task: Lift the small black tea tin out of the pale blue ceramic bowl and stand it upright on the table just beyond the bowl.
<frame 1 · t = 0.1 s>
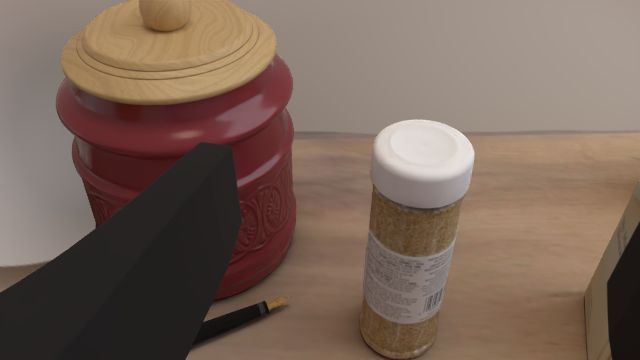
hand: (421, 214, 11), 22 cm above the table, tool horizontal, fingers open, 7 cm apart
sprinkles bottle: (396, 332, 35), on the table
cosmetic box: (624, 345, 35), on the table
fountain pen: (178, 350, 34), on the table
kitchen canister: (202, 236, 41), on the table
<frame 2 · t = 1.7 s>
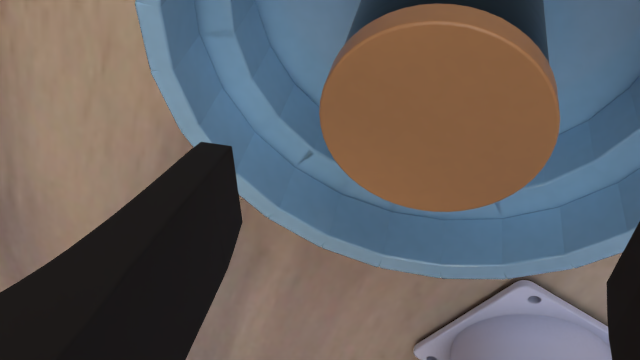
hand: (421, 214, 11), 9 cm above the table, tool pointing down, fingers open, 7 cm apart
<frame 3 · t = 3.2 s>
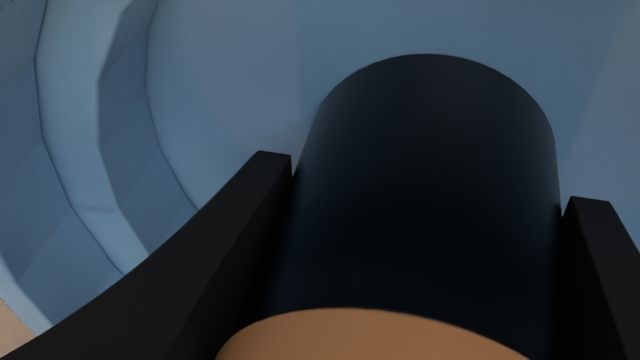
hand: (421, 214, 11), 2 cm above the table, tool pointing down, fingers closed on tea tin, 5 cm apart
blue bowl: (430, 144, 12), on the table
tea tin: (427, 157, 12), resting on blue bowl, touching gripper
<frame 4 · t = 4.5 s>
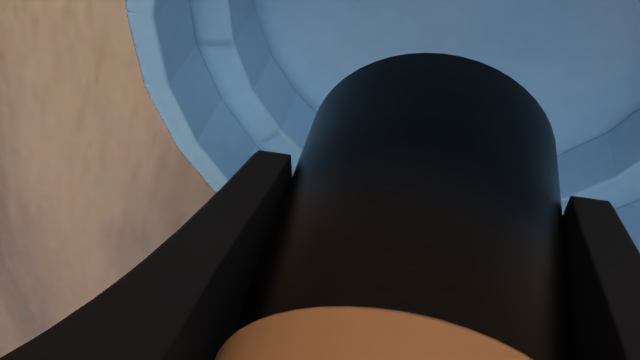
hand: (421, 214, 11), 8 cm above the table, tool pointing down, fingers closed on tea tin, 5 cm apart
tea tin: (427, 156, 12), point 7 cm above the table, touching gripper
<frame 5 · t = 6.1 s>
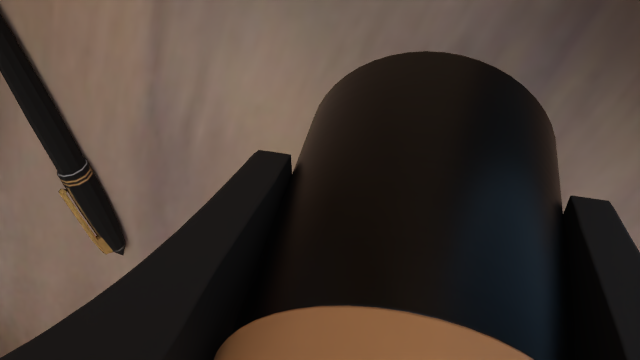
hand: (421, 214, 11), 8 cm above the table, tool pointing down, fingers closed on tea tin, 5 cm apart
fountain pen: (62, 115, 23), on the table
tea tin: (427, 155, 12), point 6 cm above the table, touching gripper
when the fingers open (2 cm above the table, at t = 8.0 s): tea tin stays where it is, on the table.
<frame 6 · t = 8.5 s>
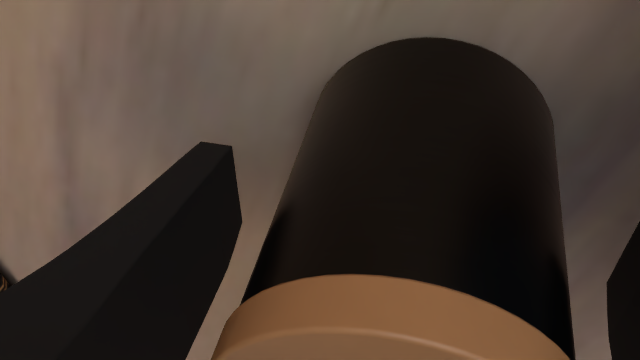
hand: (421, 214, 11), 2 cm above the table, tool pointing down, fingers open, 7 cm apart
tea tin: (428, 141, 12), on the table
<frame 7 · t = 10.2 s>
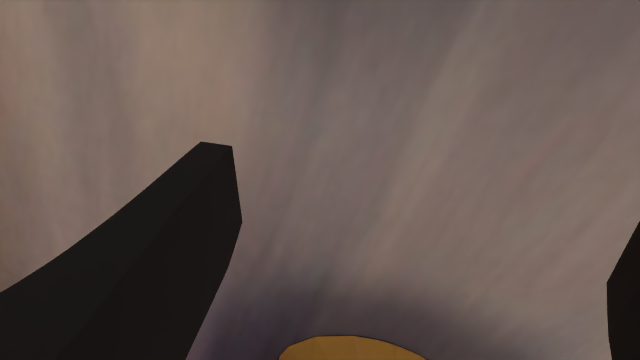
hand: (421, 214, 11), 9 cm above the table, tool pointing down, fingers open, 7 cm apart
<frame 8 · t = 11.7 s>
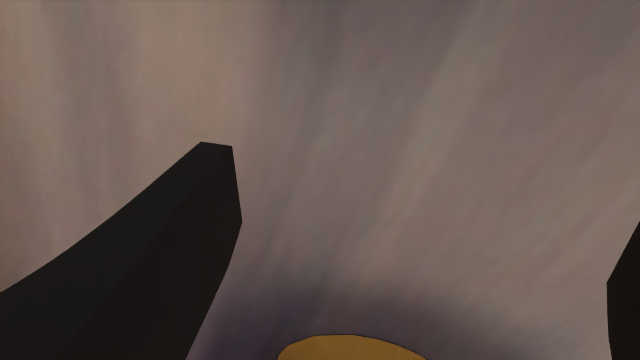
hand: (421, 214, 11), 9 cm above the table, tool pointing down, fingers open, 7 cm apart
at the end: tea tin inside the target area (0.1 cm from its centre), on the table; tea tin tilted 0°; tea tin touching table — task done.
